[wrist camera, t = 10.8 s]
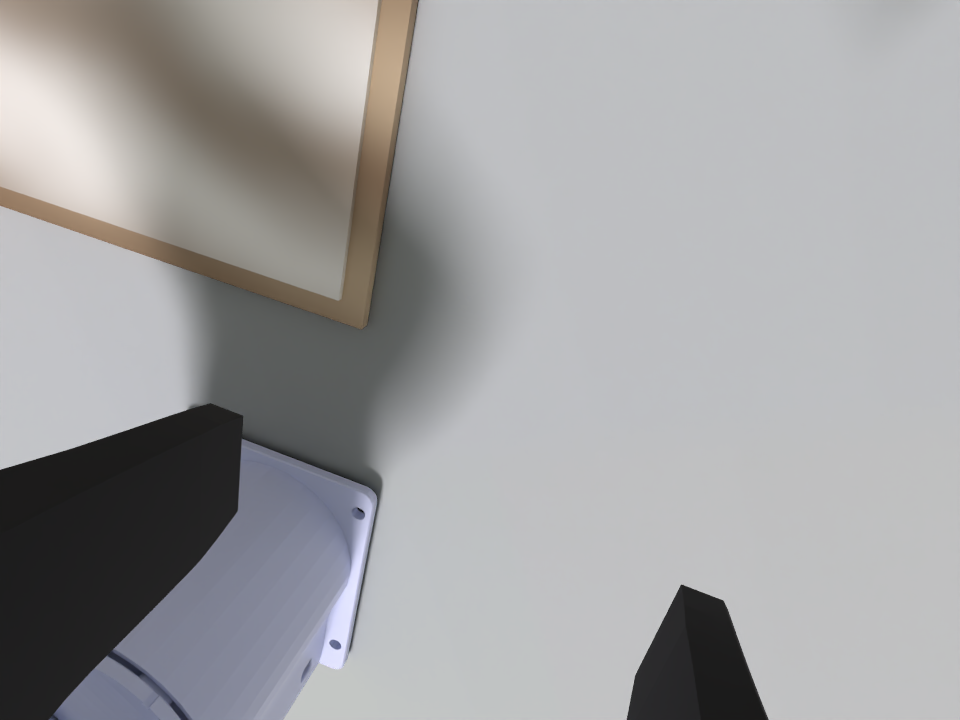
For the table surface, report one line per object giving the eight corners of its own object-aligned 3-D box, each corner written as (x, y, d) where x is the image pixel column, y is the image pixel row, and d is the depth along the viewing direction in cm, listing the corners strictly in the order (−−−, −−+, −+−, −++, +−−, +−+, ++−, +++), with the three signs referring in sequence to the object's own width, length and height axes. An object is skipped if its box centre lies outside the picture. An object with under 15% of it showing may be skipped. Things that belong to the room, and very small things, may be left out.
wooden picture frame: (367, 325, 22) (358, 331, 21) (-20, 192, 24) (-36, 196, 23) (437, -124, 16) (428, -130, 16) (-76, -239, 18) (-99, -248, 18)
